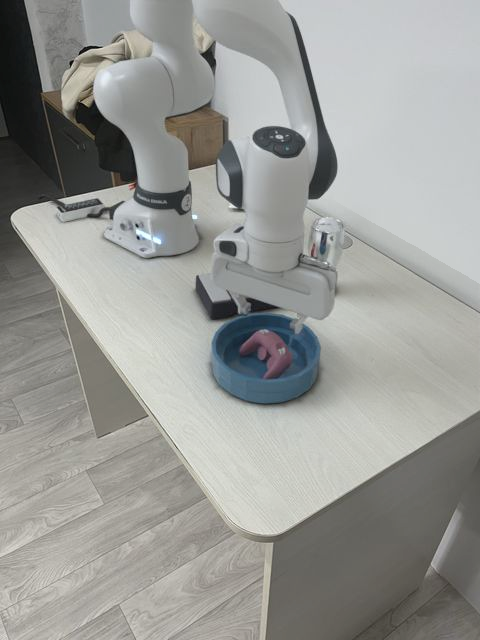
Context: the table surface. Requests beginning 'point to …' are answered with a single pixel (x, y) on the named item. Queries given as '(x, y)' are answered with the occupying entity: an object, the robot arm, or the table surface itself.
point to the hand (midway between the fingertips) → (269, 322)
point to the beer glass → (326, 240)
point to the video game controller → (269, 352)
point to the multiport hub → (79, 209)
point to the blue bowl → (248, 371)
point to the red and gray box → (221, 299)
